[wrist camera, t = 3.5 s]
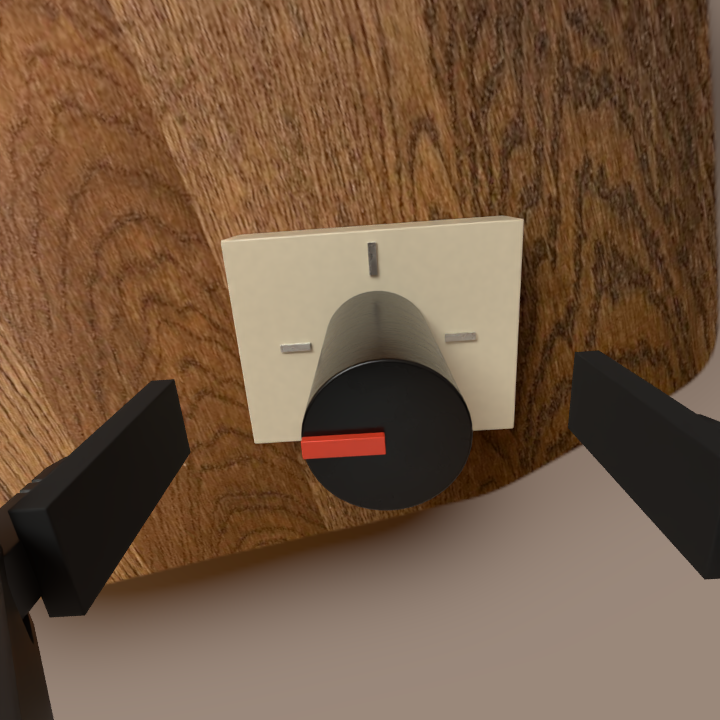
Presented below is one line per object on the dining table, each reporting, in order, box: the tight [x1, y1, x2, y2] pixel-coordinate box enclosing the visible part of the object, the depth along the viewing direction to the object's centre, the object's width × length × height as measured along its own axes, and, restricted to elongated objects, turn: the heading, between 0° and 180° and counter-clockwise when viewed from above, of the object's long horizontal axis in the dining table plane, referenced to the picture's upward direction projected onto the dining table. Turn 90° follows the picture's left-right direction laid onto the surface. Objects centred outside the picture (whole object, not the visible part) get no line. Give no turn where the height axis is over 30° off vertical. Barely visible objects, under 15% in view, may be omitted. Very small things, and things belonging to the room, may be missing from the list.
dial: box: [301, 291, 473, 510], centre depth 17 cm, size 5×5×9 cm
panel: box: [221, 216, 524, 443], centre depth 23 cm, size 13×10×3 cm
